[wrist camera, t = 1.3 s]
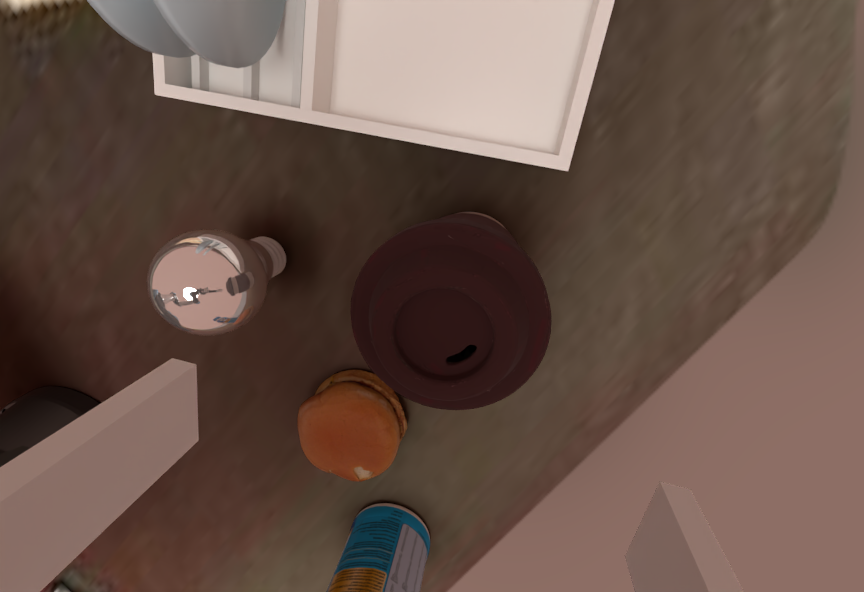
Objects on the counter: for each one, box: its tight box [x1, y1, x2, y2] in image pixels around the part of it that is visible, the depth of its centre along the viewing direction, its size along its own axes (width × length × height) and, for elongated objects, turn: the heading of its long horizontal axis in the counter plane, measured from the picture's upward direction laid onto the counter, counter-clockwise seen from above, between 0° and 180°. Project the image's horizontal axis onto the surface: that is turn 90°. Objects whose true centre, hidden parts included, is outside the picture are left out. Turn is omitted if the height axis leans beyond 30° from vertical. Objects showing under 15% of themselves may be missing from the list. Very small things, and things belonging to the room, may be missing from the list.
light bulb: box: [147, 229, 286, 336], centre depth 30 cm, size 7×7×12 cm
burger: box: [297, 370, 407, 481], centre depth 38 cm, size 10×9×5 cm
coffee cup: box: [351, 212, 551, 410], centre depth 27 cm, size 10×10×15 cm
